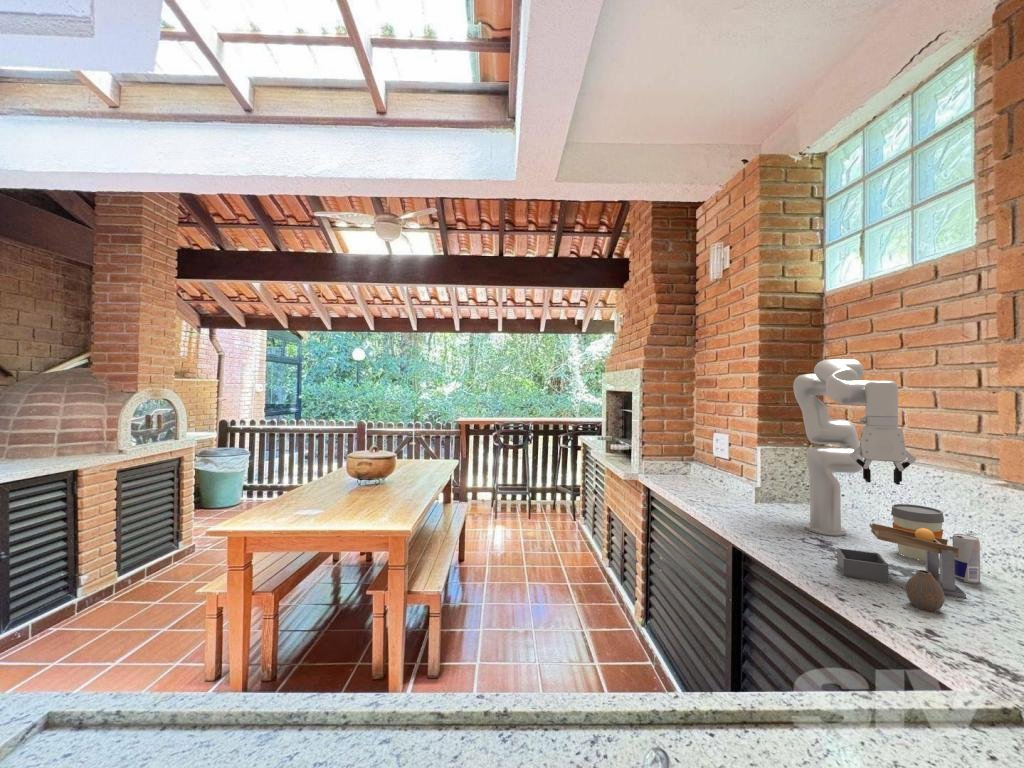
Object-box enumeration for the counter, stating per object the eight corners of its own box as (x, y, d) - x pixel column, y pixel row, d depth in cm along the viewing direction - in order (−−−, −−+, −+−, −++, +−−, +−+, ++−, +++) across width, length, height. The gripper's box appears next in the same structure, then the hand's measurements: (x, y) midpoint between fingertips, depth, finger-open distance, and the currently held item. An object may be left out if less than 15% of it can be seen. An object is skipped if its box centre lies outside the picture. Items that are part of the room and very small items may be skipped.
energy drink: (951, 574, 129) (951, 532, 129) (978, 579, 125) (977, 536, 125) (954, 580, 124) (953, 537, 125) (981, 585, 121) (981, 541, 121)
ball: (910, 536, 126) (916, 523, 125) (928, 543, 124) (934, 530, 124) (915, 541, 122) (921, 527, 122) (933, 548, 121) (939, 534, 120)
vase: (925, 600, 113) (924, 565, 113) (952, 614, 106) (952, 577, 106) (898, 601, 112) (898, 566, 113) (924, 615, 106) (924, 577, 106)
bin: (837, 564, 136) (837, 547, 136) (878, 570, 131) (878, 553, 131) (843, 576, 127) (843, 558, 127) (888, 583, 123) (888, 565, 123)
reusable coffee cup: (926, 565, 135) (925, 515, 135) (881, 551, 147) (881, 505, 147) (955, 561, 138) (954, 512, 138) (909, 547, 150) (909, 502, 151)
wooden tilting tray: (865, 526, 138) (866, 517, 137) (935, 541, 130) (937, 532, 130) (878, 540, 124) (879, 530, 124) (957, 559, 117) (959, 548, 117)
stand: (916, 573, 129) (915, 535, 129) (944, 577, 126) (943, 538, 126) (934, 593, 117) (934, 551, 117) (965, 598, 114) (965, 554, 114)
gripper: (848, 422, 134) (849, 482, 134) (924, 424, 126) (924, 488, 126) (843, 420, 140) (843, 478, 140) (914, 422, 133) (915, 483, 132)
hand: (882, 482), depth 133 cm, fingers open, 6 cm apart
